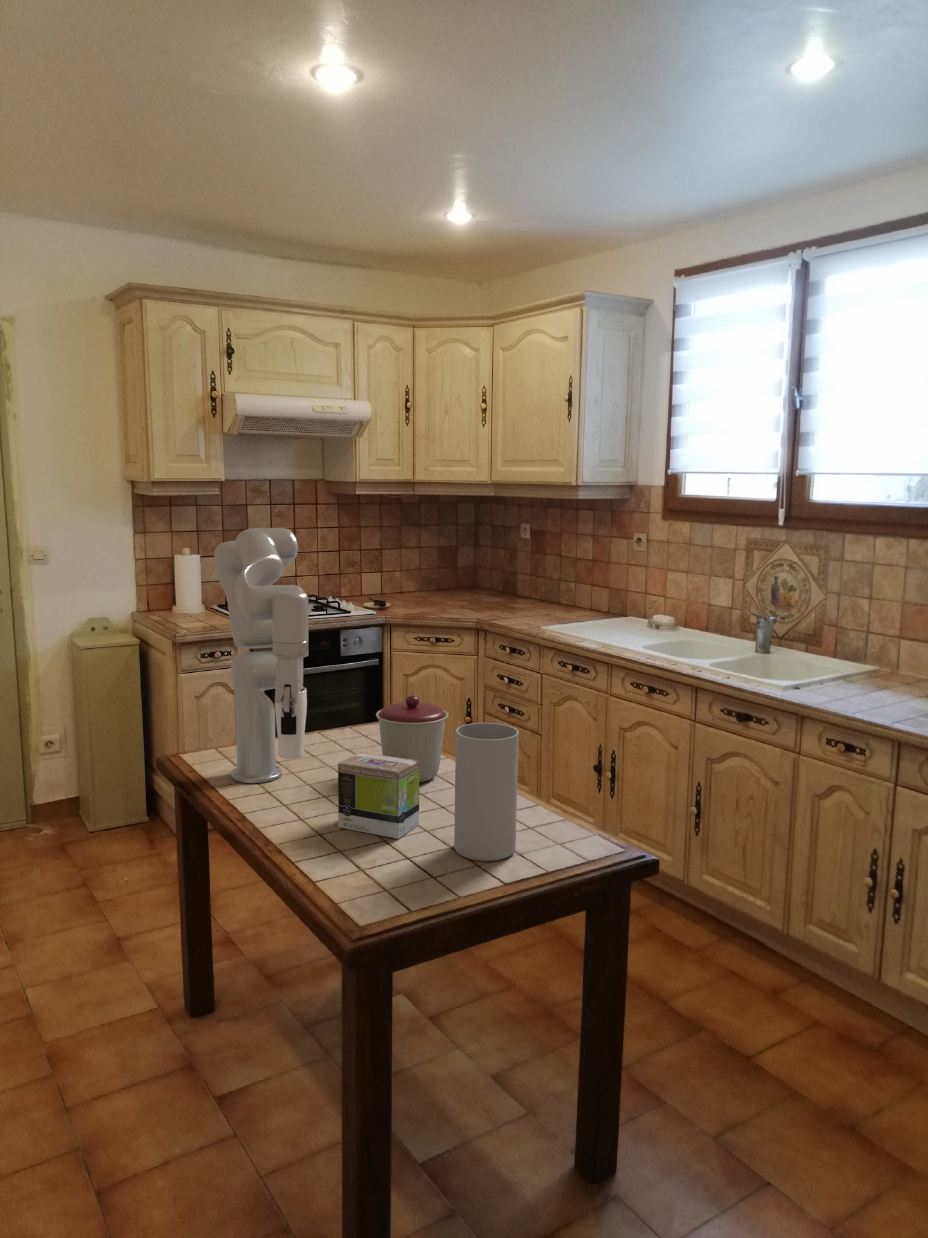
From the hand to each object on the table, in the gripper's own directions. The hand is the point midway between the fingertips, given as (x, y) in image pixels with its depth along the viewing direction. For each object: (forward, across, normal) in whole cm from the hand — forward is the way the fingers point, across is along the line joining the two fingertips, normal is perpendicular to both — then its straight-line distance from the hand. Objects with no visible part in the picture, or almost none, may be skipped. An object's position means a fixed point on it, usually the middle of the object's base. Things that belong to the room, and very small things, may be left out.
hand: (290, 728), depth 195 cm
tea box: (+20, +5, +20) cm, 29 cm away
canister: (+21, -28, +26) cm, 44 cm away
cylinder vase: (+20, +18, +42) cm, 49 cm away
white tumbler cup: (+6, 0, 0) cm, 6 cm away
